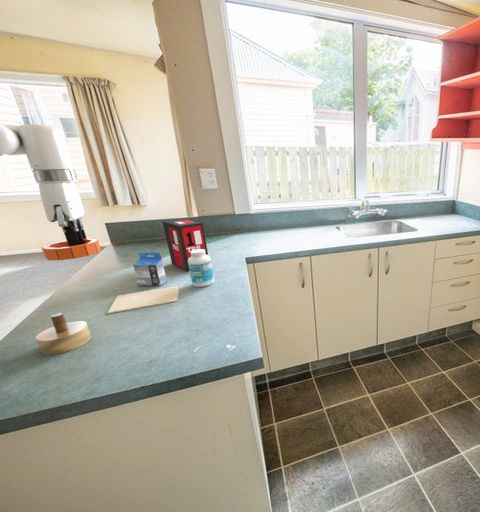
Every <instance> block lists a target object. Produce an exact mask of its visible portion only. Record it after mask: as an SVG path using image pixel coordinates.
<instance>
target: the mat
mask: <svg viewBox="0 0 480 512" xmlns="http://www.w3.org/2000/svg"><path fill="white" fill-rule="evenodd" d="M179 291H180V285H175V286H169V287H163V288H157V289H150V290H144V291H138V292H137V291H136V292H132V293H131V292H130V293H125V294H119V295H117V296H116V298H115V300H114V301H113V302H112V303H111V306H110V307H109V309H108V311H107V312H106V314H107V315H111V314H116V313H122V312H127V311H132V310H137V309H143V308H148V307H155V306H159V305H167V304H171V303H176V302H177V301H178V297H179V293H180V292H179Z"/></svg>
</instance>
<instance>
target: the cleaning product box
mask: <svg viewBox="0 0 480 512" xmlns="http://www.w3.org/2000/svg"><path fill="white" fill-rule="evenodd" d="M162 227H163V229H164V234H165V238H166V244H167V247H168V252H169V257H170V263H171V265H173V266H175V265H176V267H177V266H178V267H177V268H180V269H182V270H184V269H185V270H184V271H186V270H187V271H186V272H188V271H190V270H189V265H188V259H189V258H190V257H191V251H192V250H196V249H204V250H205V255H208V256H209V252H208V245H207V240H206V235H205V234H206V233H205V229H204V224H203V222H201V221H196V220H192V219H189V218H185V217H184V218H178V219H177V218H176V219H171V220H170V219H169V220H163V221H162Z"/></svg>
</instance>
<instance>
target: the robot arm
mask: <svg viewBox="0 0 480 512" xmlns="http://www.w3.org/2000/svg"><path fill="white" fill-rule="evenodd" d="M21 155H26V158H27V160H28V163H29V166H30V169H31V172H32V174H33V178H34V181H35V183H36V184H38V188H39V194H40V199H41V202H42V205H43V209H44V213H45V216H46V219H47V221H48V222H50V223H55V222H57V224H58V227H59V228H61V229H62V232H63V234H64V236H65V240H67V243H68V245H69V246H76V245H82V244H85V242H84V239H85V238H87V234H86V231H85V229H84V225H83V221H82V217H84V216H85V212H86V211H85V208H84V205H83V201H82V199H81V196H80V193H79V191H78V188H77V185H76V183H78V182H79V180H78V177H77V173H76V170H75V168H74V164H73V161H72V158H71V155H70V152H69V149H68V145H67V142H66V138H65V136H64V132H63V131H62V130H61V128H59V127H58V126H55V125H46V124H34V123H33V124H32V123H31V124H26V123H25V124H21V125H13V124H7V123H6V124H5V123H0V157H10V156H11V157H12V156H21ZM83 238H84V239H83Z"/></svg>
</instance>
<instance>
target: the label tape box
mask: <svg viewBox="0 0 480 512" xmlns="http://www.w3.org/2000/svg"><path fill="white" fill-rule="evenodd" d="M137 254H138V256H139V259H138V260H137V261H136V262H134V264H133V269H134V273H135V278H136V282H137V286H163V285H165V284H167V283H168V280H167V276H166V272H165V265H164V262H163V257H162V254H161V252H148V251H147V252H143V251H142V252H141V251H139V252H138V253H137Z"/></svg>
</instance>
